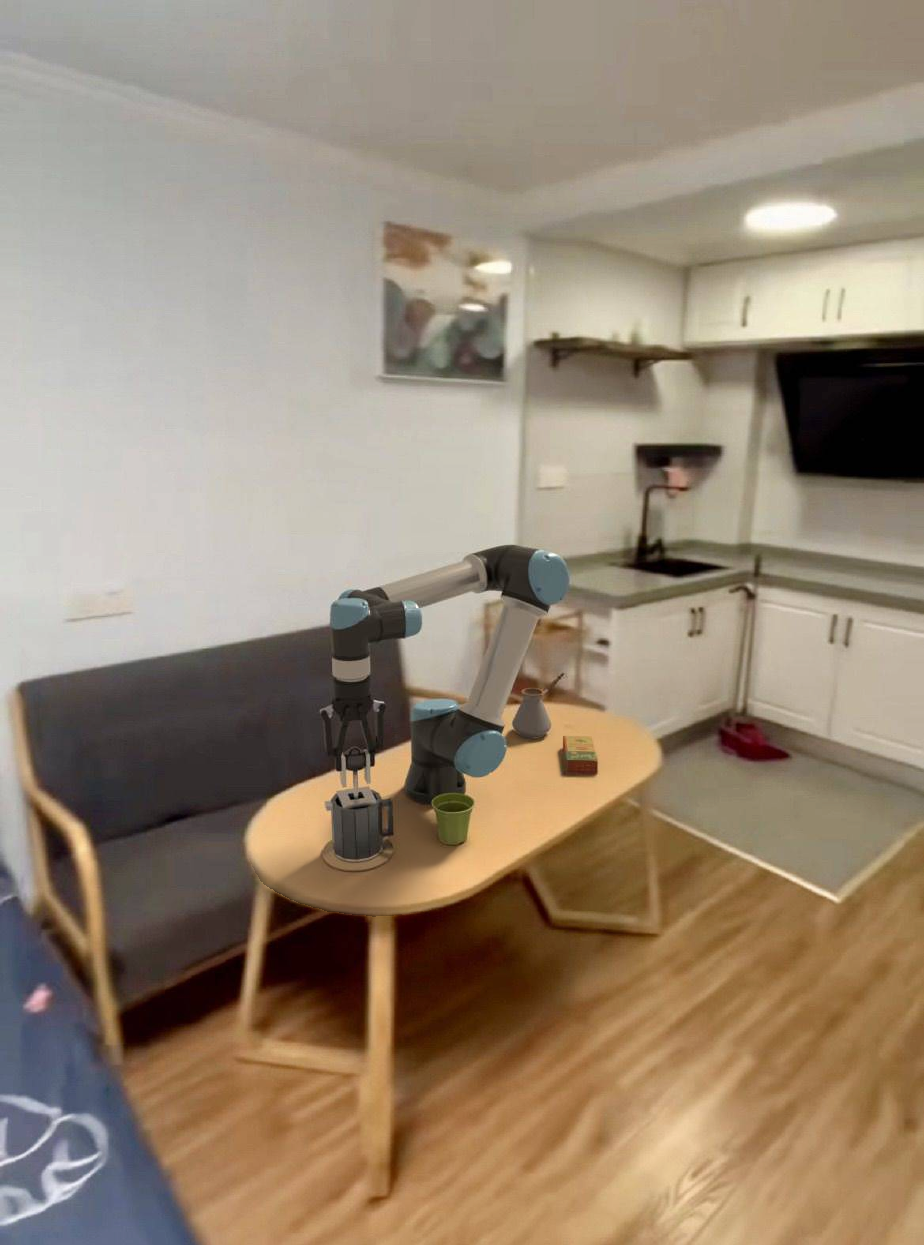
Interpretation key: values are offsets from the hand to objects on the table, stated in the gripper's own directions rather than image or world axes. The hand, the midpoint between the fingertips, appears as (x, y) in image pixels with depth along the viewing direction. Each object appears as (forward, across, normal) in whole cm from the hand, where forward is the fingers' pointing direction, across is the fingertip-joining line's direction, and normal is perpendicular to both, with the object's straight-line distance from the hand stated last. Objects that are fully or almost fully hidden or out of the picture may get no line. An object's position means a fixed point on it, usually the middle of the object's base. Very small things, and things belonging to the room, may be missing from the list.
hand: (355, 782), depth 165 cm
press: (+16, 0, 0) cm, 16 cm away
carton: (+17, -66, -26) cm, 73 cm away
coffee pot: (+17, -66, -50) cm, 84 cm away
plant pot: (+16, -21, +1) cm, 27 cm away
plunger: (+13, 0, 0) cm, 13 cm away
